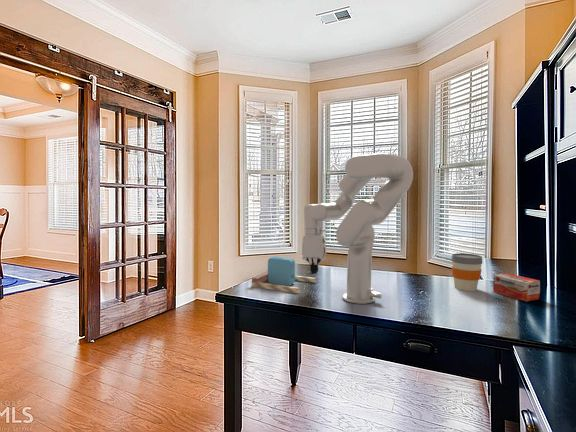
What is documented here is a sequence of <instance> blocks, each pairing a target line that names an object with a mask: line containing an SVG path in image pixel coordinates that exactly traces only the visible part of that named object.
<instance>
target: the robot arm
mask: <svg viewBox="0 0 576 432" xmlns="http://www.w3.org/2000/svg"><path fill="white" fill-rule="evenodd" d="M344 172H345V173H346V174H345V175H344V177H342V179H341V180H340V181H339V182H338V187H339V189H340V191H341V193H340V195H339V196H338V197H337V199H336V200H335V201H334V202H326V203H309V204H305V205H304V206H303V211H304V212H303V213H304V214H303V215H304V217H303V218H304V235H303V237H302V242H301V243H302V244H301V255H302V256H301V257H302V258H301V259H302V260H303V261H304V260H305V261H307V262H308V264H309V265H310V268H309V269H310V273H311V274H312V275H313V274H314V275H315V274H318V271H319V264H320V263H321V262H323V261H326V260H327V258H326V256H327V247H326V246H327V245H326V240H325V239H326V238H325V235H324V234H323V233H325V231H326V230H325V229H323V228H322V222H328V221H337V220H339V219H341V218H343V216H344V218H343V219H342V221H341V222H340V224H339V225H338V227H337V229H336V233H335V237H336V240H337V243H338V244H339V245H340V246H342V247H346V248H348V250H347V262H346V263H347V265H346V266H347V267H346V293H344V294H342V299H343V300H344V301H345V302H347V303H351V304H359V305H360V304H361V305H362V304H363V305H366V304H372V303H373V302H375V298H376V299H379V300H380V299H383V298H382V297H383V294H382V293H380V292H378V291H374V289H373V287H372V265H373V264H372V263H373V250H374V249H373V247H374V243H375V242H374V241H375V237H376V236H375V235H376V234H375V232H376V231H375V229H374V227H373V226H375V225H377V226H378V225H380V224H382V223H384V221H386V219H387V218H388V216H389V215H390V213H391V212H393V210H394V209H395V208H396V206H397V205H398V203H399V202H400V201H401V199H402V198H403V197H404V196H405V195H406V193H407V192H408V190H409V189H410V187H411V185H412V183H413V180H414V170H413V167H412V165H411V162H410V161H409V160H408V158H406V157H404V156H401V155H397V154H393V153H392V154H391V153H387V152H385V153H384V152H383V153H382V152H380V153H372V154H371V153H370V154H362V155H361V154H360V155H353V156H351V157H350V158H348V160H347V161H346V163H345V166H344ZM373 178H376V179H377V178H384V179H388V180H387V181H386V182H385V183H383V185H381V186H380V188H379V189H378V190H377V192H376V193H375V194H374V195H373V197H372V198H370V199H365V200H360V201H358V202H356V203H355V204H354V202H355V198H356V196H357V195H358V194H359V193H360V192H361V190H362V189H363V188H364V187H365V186H367V184H368V183H369V182H370V181H371V180H372V179H373ZM346 213H347V214H346ZM345 214H346V215H345Z"/></svg>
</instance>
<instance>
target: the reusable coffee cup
mask: <svg viewBox="0 0 576 432" xmlns="http://www.w3.org/2000/svg"><path fill="white" fill-rule="evenodd" d="M451 262H452V263H451V264H452V266H451V273H452V277H453V284H454V289H456V290H458V291H459V290H460V291H463V292H475V291H477V289H478V284H479V280H480V279H481V274H482V269H481V268H482V264H483V256H482V255H479V254H473V253H465V252H464V253H463V252H462V253H461V252H460V253H459V252H457V253H453V254H452V255H451Z"/></svg>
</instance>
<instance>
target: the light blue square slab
mask: <svg viewBox="0 0 576 432" xmlns="http://www.w3.org/2000/svg"><path fill="white" fill-rule="evenodd" d="M295 267H296V261H295V259H294V258H291V257H279V256H272V257H270V258H268V260H267V271H268V284H275V285H283V286H292V284H294V283H295V282H296V280H295V274H296V273H295V272H296V270H295Z"/></svg>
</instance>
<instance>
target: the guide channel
mask: <svg viewBox="0 0 576 432" xmlns="http://www.w3.org/2000/svg"><path fill="white" fill-rule="evenodd" d="M295 281H299V282H305V283H314V284H316V283H317V277H312V276H311V277H310V276H302V275H295ZM251 287H252V288H253V287H254V288H259V289H260V288H261V289H267V290H272V291H273V290H274V291H280V292H287V293H293V294H300V293H301V289H300V287H297V286H291V285H289V286H285V285H278V284H271V283H269V282H268V270H267V271H265V272H262V273H260V274H257V275H255V276H253V277H251Z"/></svg>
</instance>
